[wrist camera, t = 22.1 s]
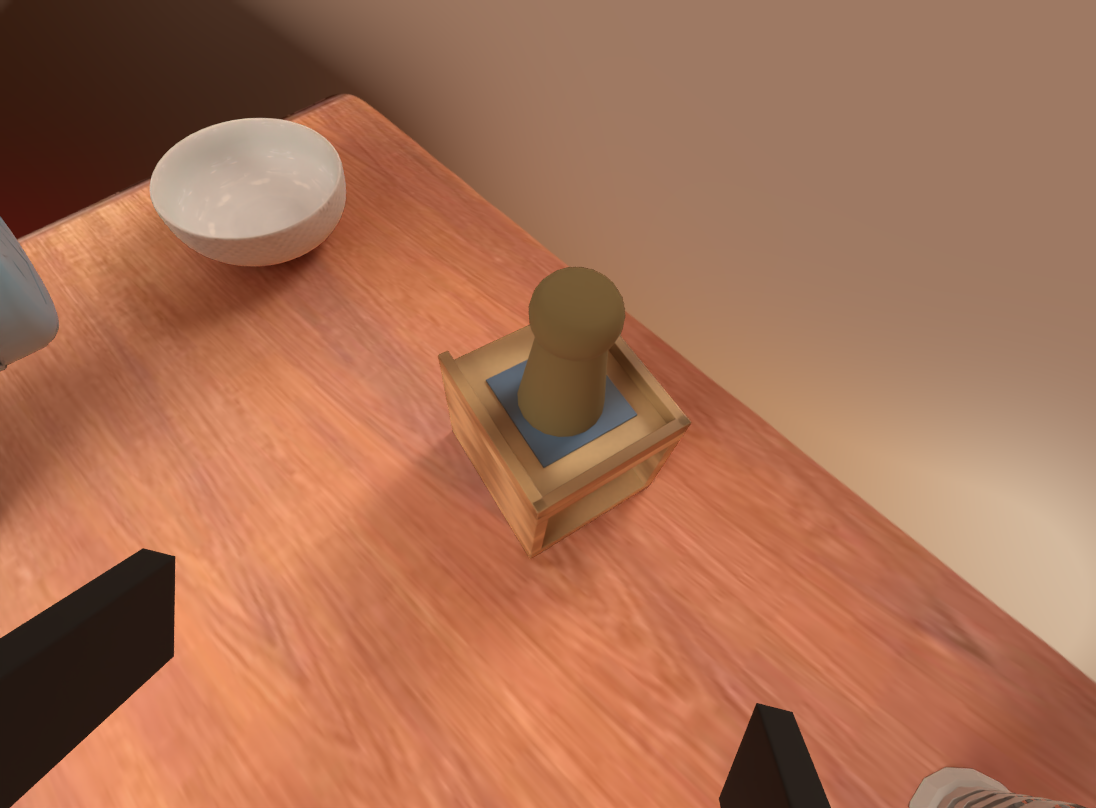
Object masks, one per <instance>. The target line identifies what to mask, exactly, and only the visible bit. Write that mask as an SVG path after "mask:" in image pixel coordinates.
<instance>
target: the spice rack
mask: <svg viewBox="0 0 1096 808" xmlns="http://www.w3.org/2000/svg"><path fill="white" fill-rule="evenodd" d="M534 338H535V336H534V334H533V332H532V330H531V327H530V325H528V326H526V327H524V328H521V329H519V330H517V331H515V332H513V333H511V334H508V335H506V336H504V337H502V338H500V339H498V340H496V341H493V342H491V343H489V344H487V345H485V346H483V347H481V348H478V349H476V350H474V351H472V352H470V353H468V354H465V355H463V356H461V357H459V358H457V359H455V360H454V359H453V357H452V356H451V354H450V353H449V351H446V352H444V353H441V354H439V355H438V359H439V364H440V368H441V373H442V379H443V384H444V389H445V394H446V400H447V405H448V410H449V415H450V420H451V426H452V431H453V432H454V434H455V436H456V437H457V439H458V441H459V442H460V444H461V446H462V447H463V449H464V451H465V452H466V454H467V456H468V457H469V459H470V460H471V462H472V464H473V465H474V467H475V469H476V470H477V472H478V474H479V475H480V477H481V479H482V480H483V482H484V484H485V485H486V487H487V489H488V490H489V492H490V494H491V495H492V497H493V499H494V500H495V502H496V504H497V505H498V507H499V509H500V510H501V512H502V514H503V515H504V517H505V519H506V520H507V522H508V524H509V525H510V527H511V529H512V530H513V532H514V534H515V535H516V537H517V538H518V540H519V542H520V543H521V545H522V547H523V548H524V550H525V552H526V553H527V555H528V557H529V558H530V559H531V558H533V557H535V556H536V555H538V554H539V553H541V552H543V551H544V550H546V549H548V548H549V547H551V546H552V545H554V544H556V543H557V542H559V541H560V540H562V539H564V538H565V537H567V536H568V535H570V534H572V533H573V532H575V531H577V530H578V529H580V528H581V527H583V526H585V525H586V524H588V523H589V522H591V521H593V520H594V519H596V518H597V517H599V516H601V515H602V514H604V513H606V512H607V511H609V510H610V509H612V508H614V507H615V506H617V505H618V504H620V503H622V502H623V501H625V500H627V499H628V498H630V497H631V496H633V495H635V494H636V493H638V492H639V491H641V490H643V489H644V488H646V487H647V486H649V485H650V484H651V483H652V481H653V480H654V478H655V477H656V475H657V474H658V472H659V471H660V469H661V468H662V466H663V465H664V463H665V462H666V460H667V459H668V457H669V456H670V454H671V453H672V451H673V450H674V448H675V447H676V445H677V444H678V442H679V441H680V439H681V437H682V436H683V434H684V433H685V432H686V430H687V429H688V427H689V426H690V424H691V421H690V420H689V419H688V418H687V416H686V415H685V414H684V413H683V412H682V410H681V409H680V408H679V407H678V405H677V404H676V403H675V402H674V401H673V399H672V398H671V397H670V396H669V394H668V393H667V392H666V391H665V390H664V388H663V387H662V386H661V385H660V383H659V382H658V381H657V380H656V379H655V377H654V376H653V375H652V374H651V372H650V371H649V370H648V369H647V368H646V366H645V365H644V364H643V363H642V361H641V360H640V359H639V358H638V357H637V355H636V354H635V353H634V352H633V350H632V349H631V348H630V347H629V346H628V344H627V343H626V342H625V341H624V339H623V338H622V337H621V336H619V337H618V339H617V340H616V342H615V343H614V345H613V346H612V347H611V348H610V349H609V350H608V357H607V373H606V388H605V402H604V407H603V412H602V414H601V416H600V418H599V419H598V421H597V422H596V424H595V425H593V426H592V427H591V428H589V429H588V430H587V431H586V432H583V433H580V434H578V435H575V436H569V437H556V436H552V435H548V434H544V433H542V432H541V431H539V430H537V429H536V428H534V427H532V426H531V425H530V424H529V422H528V421H527V420H526V419H525V418H524V417H523V415H522V413H521V410H520V408H519V406H518V395H517V393H518V390H519V386H520V383H521V380H522V376H523V373H524V370H525V367H526V364H527V360H528V357H529V354H530V351H531V347H532V344H533V341H534Z"/></svg>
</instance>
